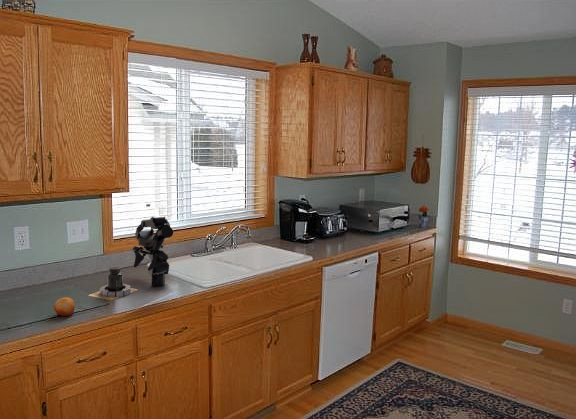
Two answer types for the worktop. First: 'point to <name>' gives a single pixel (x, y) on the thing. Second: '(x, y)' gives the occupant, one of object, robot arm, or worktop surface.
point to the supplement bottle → (115, 279)
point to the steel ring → (120, 293)
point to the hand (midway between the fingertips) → (141, 268)
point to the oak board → (108, 297)
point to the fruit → (64, 306)
